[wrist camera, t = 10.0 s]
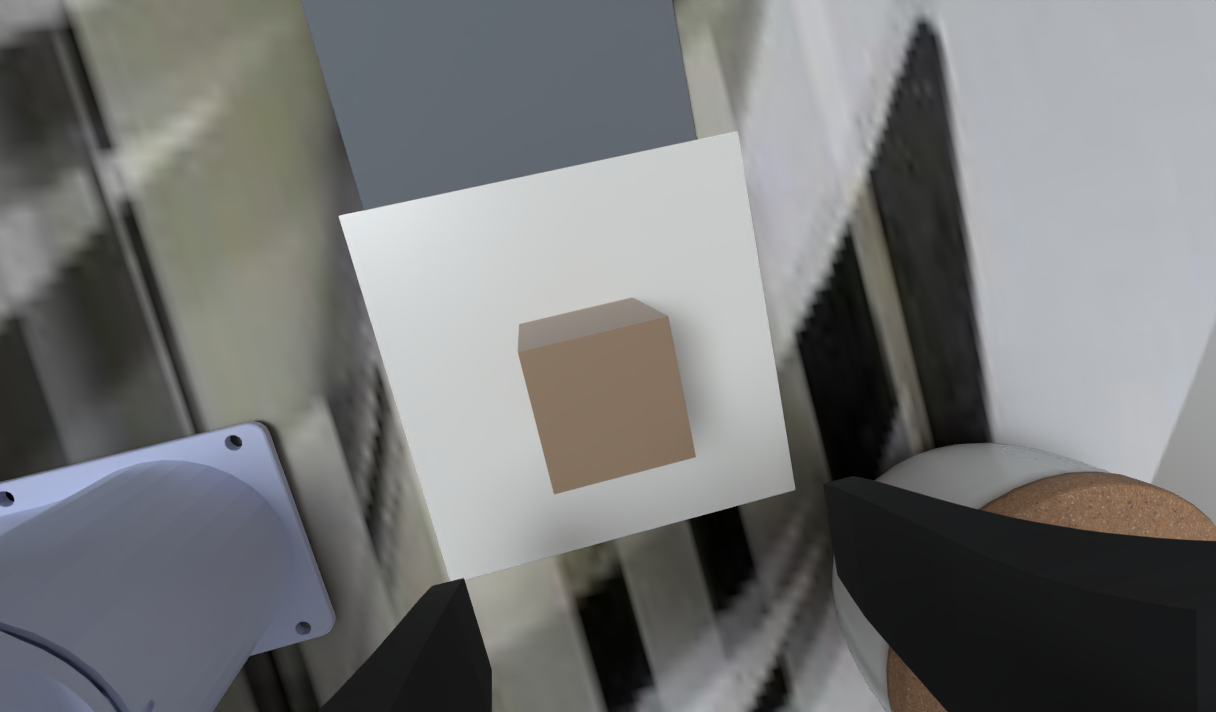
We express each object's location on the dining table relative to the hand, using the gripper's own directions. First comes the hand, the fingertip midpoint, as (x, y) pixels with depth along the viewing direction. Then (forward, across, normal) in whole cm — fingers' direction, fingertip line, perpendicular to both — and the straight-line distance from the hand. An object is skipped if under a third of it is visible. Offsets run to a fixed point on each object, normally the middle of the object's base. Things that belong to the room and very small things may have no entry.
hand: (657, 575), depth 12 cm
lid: (+6, 0, -3) cm, 7 cm away
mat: (+10, 0, -13) cm, 17 cm away
